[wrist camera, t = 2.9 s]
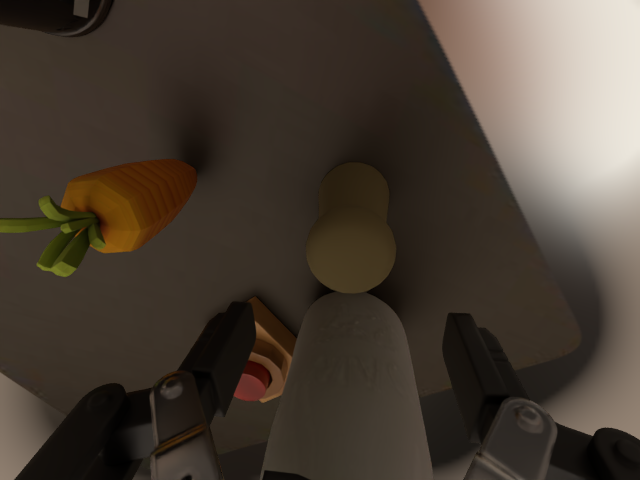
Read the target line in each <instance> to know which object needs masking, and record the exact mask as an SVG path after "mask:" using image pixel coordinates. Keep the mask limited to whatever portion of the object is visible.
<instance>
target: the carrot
mask: <svg viewBox="0 0 640 480" xmlns="http://www.w3.org/2000/svg"><path fill="white" fill-rule="evenodd" d="M196 183H197V173H196V170H195V168H193V167H192V166H190V165H189V164H187V163H185V162H183V161H179V160H176V159H161V160H151V161H143V162H135V163H127V164H122V165H118V166H114V167H110V168H106V169H103V170H99V171H96V172H92V173H89V174H86V175H82V176H79V177H76V178H74V179H72V180H71V181H70V182H69V183H68V185H67V189H66V192H65V195H64V198H63V201H62V204H61V207H60V206H58V205H56V204H55V202H54V201H53V200H52V199H51V197H50V196H45V197H43V198H41V199H40V200H39V206H40V208H41V210H42V211H43V213H44V214H45V215H46V216H47V217H38V218H0V232H5V233H16V232H30V231H36V230H43V229H50V228H56V227H61V230H62V232H61V233H60V234H59V235H58V236H57V237H55V238H54V239H53V240H52V241H51V242H50V243H49V245H48V246H47V248H46V249H45V250H44V252H43V253H42V255H41V257H40V259H39V261H38V263H37V266H38V267H39V268H41V269H42V270H45V271H52V272H53V273H55V274H56V275H59V276H63V277H66V276H68V275H70V274H72V273H73V272H74V271H75V270H76V269H77V268H78V266H79V264H80V263H81V261H82V260H83V258H84V256H85V253H86V251H87V249H88V247H89V245H90V246H91V247H93V248H95V249H96V250H98V251H100V252H102V253H113V252H127V251H133V250H136V249H138V248H140V247H141V246H143V245H144V244H145V243H146V242H148V241H149V240H150V239H151V238H153V237H154V236H155V235H156V234H158V233H159V232H160V231H161V230H162V229H163V228H164V227H166V226H167V225H168V224H169V223H170V222H171V221H172V220H173V219H174V218H175V217H176V215H177V214H178V213H179V212H180V211H181V209H182V208H183V206H184V205H185V204H186V202H187V201H188V199H189V197H190V196H191V194H192V192H193V190H194V189H195V186H196ZM74 237H75V238H74ZM73 238H74V239H73ZM72 239H73V240H72ZM71 240H72V241H71ZM70 241H71V242H70ZM69 242H70V244H69ZM68 244H69V245H68ZM67 245H68V246H67ZM66 246H67V247H66ZM65 247H66V248H65Z"/></svg>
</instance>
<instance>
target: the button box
mask: <svg viewBox="0 0 640 480" xmlns="http://www.w3.org/2000/svg"><path fill="white" fill-rule="evenodd" d="M246 302H250V303H251V304H252V307H253V313H254V319H255V325H256V341H255V345H254V347H253V350H252V352H251V354H250V357H249V359H248V360H251V361H254V362H256V363H259V364H262V365H263V366H264V367H265V368H266V369H267V370H269V373H270V380H269V383H268V386H267V390H266V393H265V395H264V396H263V397H262V398H261V399H259V400H260V401H261V402H262V403H263V402H266V401H268V400H271V399H273V398H275V397H278V396H280V395H282V393H283V389H284V386H285V382H286V379H287V376H288V372H289V369H290V364H291V361H292V356H293V352H294V348H295V344H296V341H297V338H296V337H295V336H294V335H293V334H292V333H291V332H290V331H289V330H288V329H287V328H286V327H285V326H284V325H283V324H282V323H281V322H280V321H279V320H278V319H277V318H276V317H275V316H274V315H273V314H272V313H271V312H270V311H269V310H268V309H267V307H266V306H265V305H264V304H263V303H262V302H261V301H260V300H259V299H258V298H257V297H256V296H255V297H253V298H251V299H250V300H248V301H246ZM205 327H206V326H205ZM204 329H205V328H204ZM202 333H203V331H202ZM200 335H201V334H200ZM197 341H198V339H197Z"/></svg>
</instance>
